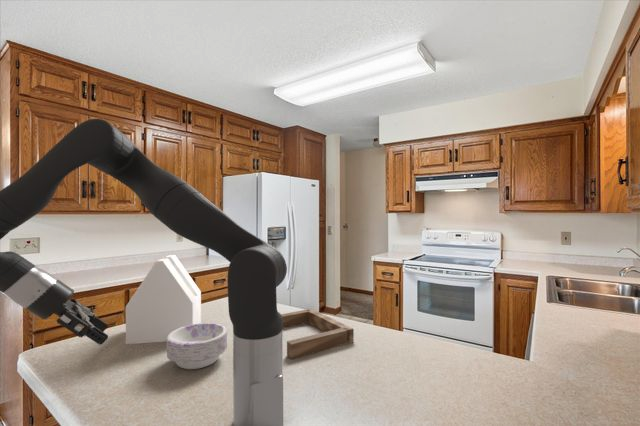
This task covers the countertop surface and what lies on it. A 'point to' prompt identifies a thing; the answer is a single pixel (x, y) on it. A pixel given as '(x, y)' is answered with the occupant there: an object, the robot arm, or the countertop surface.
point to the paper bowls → (196, 345)
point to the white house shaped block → (162, 303)
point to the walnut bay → (318, 342)
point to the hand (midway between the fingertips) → (105, 334)
